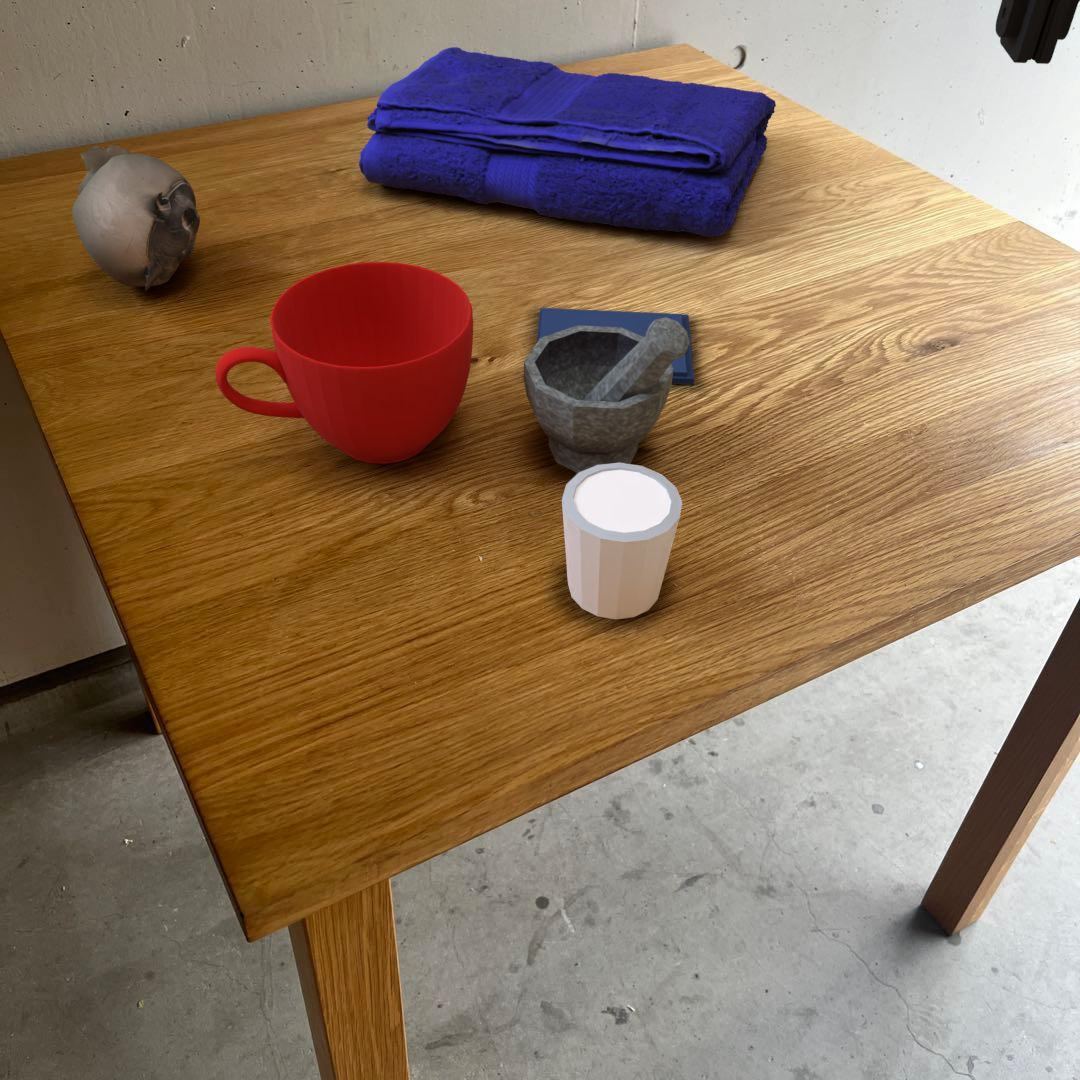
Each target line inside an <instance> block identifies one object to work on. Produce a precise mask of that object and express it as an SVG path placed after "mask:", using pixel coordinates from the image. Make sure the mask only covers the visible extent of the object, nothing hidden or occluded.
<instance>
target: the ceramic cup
mask: <svg viewBox="0 0 1080 1080" xmlns="http://www.w3.org/2000/svg"><path fill="white" fill-rule="evenodd" d="M473 313H474V312H473V305H472V304H471V301H470V299H469V296H468V294H467V293H466V292H465V290H464V289H462V287H461V286H460V285H459V284H457V283H456V282H455V281H453V280H452V279H450V278H449V277H447V276H445V275H443V274H442V273H439V272H438V271H435V270H431V269H429V268H427V267H426V268H425V267H423V266H420V265H415V264H410V263H409V264H408V263H404V262H393V261H392V262H391V261H364V262H355V263H348V264H343V265H338V266H333V267H330V268H326V269H324V270H321V271H318V272H315V273H312V274H310V275H308V276H306V277H303V278H302V279H299V281H297V282H296V283H294V284H293V285H291V286H290V287H288V288H286V290H285V291H283V293H282V294H281V295H280V296H279V297H278V298H277V300H276V302H275V304H274V306H273V307H272V309H271V315H270V319H269V321H270V322H269V323H270V329H271V334H272V339H273V344H274V348H275V350H271V349H267V348H262V347H256V346H240V347H236V348H233V349H230V350H229V351H226V353H224V354H223V355H221V356H220V358H219V360H218V362H217V364H216V367H215V381H216V385H217V388H218V389H219V391H220V393H221V394H222V395H223V396H224V398H226V399H227V400H228V401H229V402H230V403H231V404H233V405H234V406H235V407H237V408H239V409H240V410H242V411H246V412H247V413H251V414H253V415H259V416H265V417H275V418H288V419H304V420H305V422H306V423H307V424H308V425H309V426H310V427H311V428H312V430H314V431H315V432H316V433H317V434H318V435H319V436H320V437H321V438H322V439H324V440H325V441H326V442H328V443H329V444H330V445H332V446H334V447H335V448H336V449H338V450H340V451H341V452H344V453H345V454H346V455H347V456H349V457H351V458H353V459H354V460H357V461H360V462H363V463H364V462H365V463H369V464H379V465H381V464H382V465H384V464H393V463H399V462H402V461H405V460H408V459H410V458H413V457H415V456H417V455H418V454H419V453H420V452H422V451H423V450H424V449H425V448H426V447H427V446H428V445H429V444H431V443H432V442H433V441H434V440H435V439H436V438H437V437H438V436H439V435H440V434H441V433H443V431H444V430H445V429H446V428H447V426H448V425H449V423H450V422H451V420H452V419H453V417H454V415H455V414H456V412H457V411H458V409H459V407H460V405H461V402H462V401H463V398H464V394H465V390H466V387H467V384H468V379H469V376H470V371H471V363H472V357H473V356H472V354H473V342H474V315H473ZM244 363H260V364H263V365H266V367H267V366H268V367H269V368H271V369H272V370H273V371H275V373H277V375H278V376H279V377H280V379H281V380H282V382H283V383H284V384H285V385H286V388H287V391H288V392H289V395H290V396H291V398H292V400H293V401H286V402H282V401H281V402H280V401H271V400H269V401H268V400H262V399H257V398H253V397H249V396H247V395H245V394H243V393H241V392H239V391H238V390H236V389H235V388H234V387H233V386H232V385H231V384H230V383H229V381H228V374H229V372H230V370H232V369H233V368H234V367H235V366H238V365H240V364H244Z"/></svg>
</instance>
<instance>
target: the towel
mask: <svg viewBox="0 0 1080 1080" xmlns="http://www.w3.org/2000/svg"><path fill="white" fill-rule="evenodd" d="M375 106H376V107H375V108H374V109H373V111H372V112H370V114H369V115H368V116H367V117H366V119H367V123H366V126H367V129H368V130H370V131H372V132H374V133H373V134H372V136H371V137H370V138H369V139H368V142H367V143H366V144H365V146H364V147H363V149H361V151H360V154H359V155H360V157H359V162H358V167H359V169H360V170H359V171H360V173H361V174H362V175H363V176H364V178H365V179H366V180H367V181H368V182H369V183H372V184H379V185H383V186H384V187H386V188H394V189H400V190H401V189H403V190H404V189H405V190H406V189H407V190H410V189H411V190H413V191H420V192H425V193H430V194H437V195H439V194H440V195H441V194H442V195H446V196H450V197H452V196H456V197H458V198H462V199H464V200H467V201H471V202H475V203H477V204H478V203H479V204H480V205H488V204H491V203H501V204H505V205H508V206H515V207H519V208H524V209H531V210H533V211H536V212H537V213H538V215H540V216H544V217H547V218H548V217H552V218H558V219H563V220H568V221H569V220H570V221H578V222H585V223H588V224H600V225H601V224H602V225H605V224H607V225H611V226H615V227H618V228H619V227H622V228H631V229H640V230H641V229H642V230H644V231H649V230H650V231H657V230H658V231H666V232H667V231H668V232H675V233H676V232H677V233H681V232H684V233H690V234H691V233H692V234H695V235H698V236H699V235H700V236H703V237H707V238H712V237H715V238H716V237H719V236H722V235H723V234H725V233H726V232H728V231H729V230H730V229H731V228H732V226H733V225H735V223H736V222H735V221H736V218H735V217H736V214H737V213H738V211H740V207H741V204H742V203H743V198H744V196H745V193H746V190H747V188H749V186H750V184H751V182H752V177H753V176H754V174H755V172H756V170H757V168H758V166H759V163H760V162H761V160H762V158H763V156H764V153H765V152H766V150H767V146H768V145H767V144H768V138H767V136H766V135H765V132H767V128H768V124H769V120H771V119H772V116H773V114H775V108H776V107H777V104H776V100H775V99H772V98H771V97H770V96H769V95H767V94H765V93H764V92H759V91H752V90H744V89H738V88H733V87H727V86H726V87H725V86H716V85H710V84H703V83H696V82H682V81H678V80H676V81H674V80H672V81H671V80H665V79H659V78H653V77H650V76H646V75H645V76H644V75H635V74H633V75H632V74H627V73H626V74H625V73H617V72H608V73H602V74H599V75H596V76H595V75H592V74H586V73H577V72H567V71H564V70H562V69H560V68H559V67H558V66H557V65H554V64H553V63H551V62H544V61H536V60H533V61H528V60H527V59H520V58H513V57H507V56H497V55H493V54H488V53H482V52H476V51H472V52H471V51H466V50H464V49H462V48H460V47H458V46H454V47H453V46H452V47H447V48H444V49H441V50H440V51H439V52H438V53H437V54H435V55H434V56H431V57H430V58H428V59H427V60H425V61H423V63H421V65H420V66H418V67H417V68H416V69H415V70H413V71H412V72H410V73H409V74H407V76H405V77H404V78H402V79H399V80H398V81H396V82H394V83H392V84H390V85H389V86H388V87H387V88H386V89H385V90H383V92H382V94H381V95H380V97H379V98H378V101H377V102H376V105H375Z"/></svg>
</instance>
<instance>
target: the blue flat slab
mask: <svg viewBox="0 0 1080 1080" xmlns="http://www.w3.org/2000/svg"><path fill="white" fill-rule="evenodd" d="M538 317H539V318H538V327H537V329H538V330H537V340H536V342H538V341H539V339H540V338H542V337H545V336H548V335H551V334H554V333H557V332H560V331H563V330H565V329H568V328H571V327H574V326H577V325H579V326H601V327H622V328H624V329H626V330H629V331H631V332H633V333H635V334H638V335H640V336H642V337H645V336H646V332H647V330H648V328H649V326H650V324H651V323H652V322H653V321H654V320H656V319H660V318H665V317H667V318H670V319H672V320H675V321H677V322H679V324H680V325H681V326H682V327H683V328H684V329H685V330H686V331H687V334H688V338H689V341H690V345H689V347H688V349H687V351H686V353H685V354H684V355H683V357H682V358H678V359H674V360H673V362H672V363H671V365H672V367H673V368H674V370H673V378H672V385H685V386H686V385H687V386H689V385H690V386H694V384H695V372H694V361H693V351H692V350H693V349H692V339H691V338H692V337H691V329H690V318H689V317H690V316H689V314H683V313H668V312H644V311H643V312H642V311H623V310H622V311H621V310H620V311H619V310H600V309H599V310H596V309H575V308H555V307H554V308H553V307H552V308H551V307H542V308H539V316H538Z"/></svg>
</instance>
